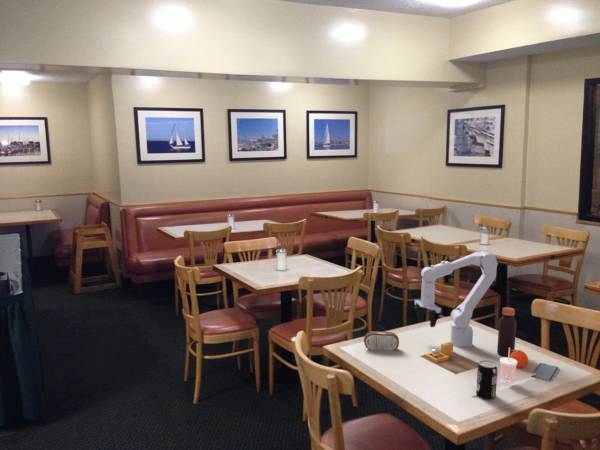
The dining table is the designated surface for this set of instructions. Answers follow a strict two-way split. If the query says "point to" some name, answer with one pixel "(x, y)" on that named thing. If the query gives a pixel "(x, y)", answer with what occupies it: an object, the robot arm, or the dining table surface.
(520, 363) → the clementine
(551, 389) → the dining table surface
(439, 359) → the orange square hoop tool
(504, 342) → the bottle
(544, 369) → the smartphone
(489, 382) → the beverage can
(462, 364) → the plate
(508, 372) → the beverage cup
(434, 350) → the chrome cabinet knob
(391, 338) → the tin
